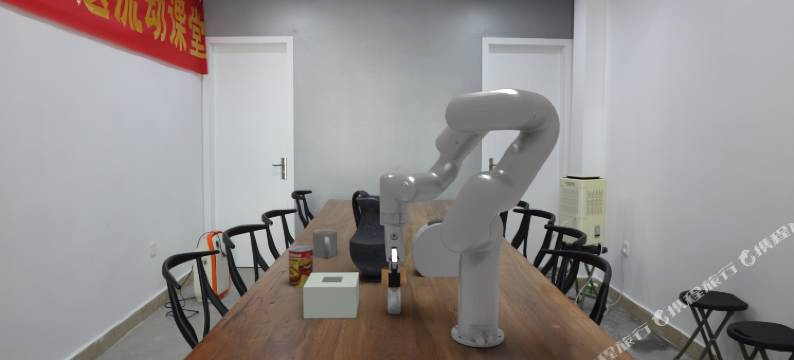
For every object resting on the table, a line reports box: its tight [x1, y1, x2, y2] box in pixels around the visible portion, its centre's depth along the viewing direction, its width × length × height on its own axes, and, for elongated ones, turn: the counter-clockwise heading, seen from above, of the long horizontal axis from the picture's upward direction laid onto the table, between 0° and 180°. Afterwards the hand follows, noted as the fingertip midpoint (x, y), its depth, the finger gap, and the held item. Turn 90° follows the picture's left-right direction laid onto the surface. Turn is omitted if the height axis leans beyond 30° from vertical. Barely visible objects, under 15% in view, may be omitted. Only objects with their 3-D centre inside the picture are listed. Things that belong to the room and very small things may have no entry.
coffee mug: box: [312, 228, 338, 259], centre depth 194 cm, size 13×10×10 cm
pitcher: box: [348, 189, 389, 282], centre depth 163 cm, size 17×21×30 cm
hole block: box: [302, 271, 360, 319], centre depth 131 cm, size 14×14×8 cm
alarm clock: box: [410, 218, 460, 278], centre depth 167 cm, size 21×8×20 cm, turn 92°
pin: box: [381, 265, 407, 315], centre depth 129 cm, size 7×7×12 cm
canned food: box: [288, 245, 314, 288], centre depth 155 cm, size 8×8×12 cm
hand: (394, 282), depth 128 cm, fingers closed on pin, 6 cm apart
